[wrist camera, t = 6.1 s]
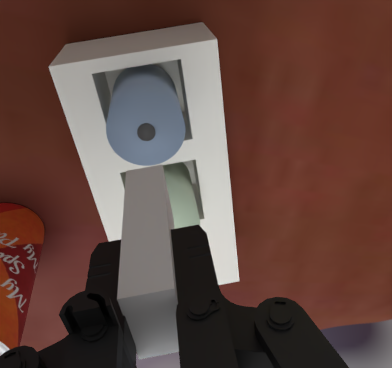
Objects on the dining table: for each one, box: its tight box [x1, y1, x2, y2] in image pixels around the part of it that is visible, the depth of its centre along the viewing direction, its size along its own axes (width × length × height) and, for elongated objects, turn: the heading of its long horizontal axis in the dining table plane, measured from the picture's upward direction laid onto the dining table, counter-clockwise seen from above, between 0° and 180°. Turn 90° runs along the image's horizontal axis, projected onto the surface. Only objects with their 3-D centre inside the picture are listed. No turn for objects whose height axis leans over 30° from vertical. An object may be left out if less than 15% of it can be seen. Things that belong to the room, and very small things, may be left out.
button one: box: [106, 64, 185, 166], centre depth 23 cm, size 4×4×6 cm
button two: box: [163, 162, 200, 229], centre depth 27 cm, size 4×4×6 cm
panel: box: [49, 22, 239, 285], centre depth 30 cm, size 21×10×6 cm, turn 7°
